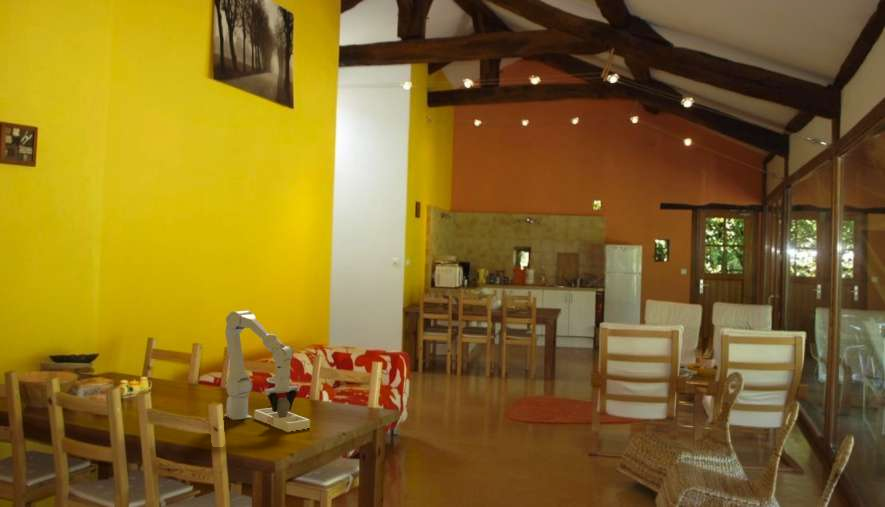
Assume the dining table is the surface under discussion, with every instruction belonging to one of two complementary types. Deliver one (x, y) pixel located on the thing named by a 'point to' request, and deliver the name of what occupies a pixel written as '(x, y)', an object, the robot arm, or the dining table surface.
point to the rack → (282, 420)
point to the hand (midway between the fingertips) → (281, 410)
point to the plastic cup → (272, 384)
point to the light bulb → (282, 407)
